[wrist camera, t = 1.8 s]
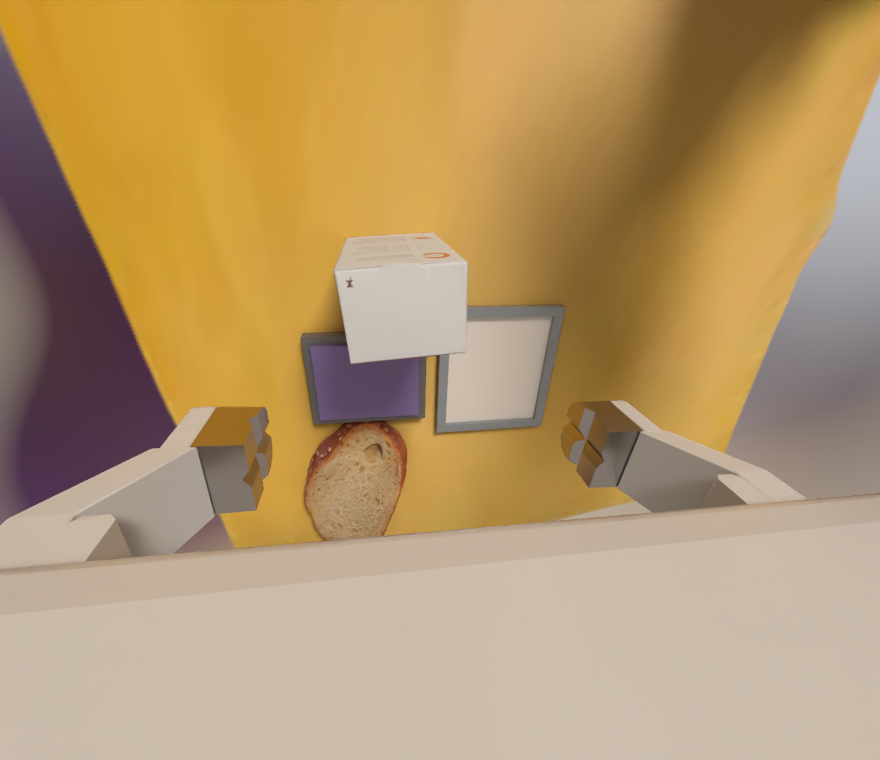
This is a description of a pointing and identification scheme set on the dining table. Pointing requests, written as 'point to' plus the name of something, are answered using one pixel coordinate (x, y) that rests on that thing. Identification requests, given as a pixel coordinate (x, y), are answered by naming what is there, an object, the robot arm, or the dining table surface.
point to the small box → (402, 297)
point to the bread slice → (356, 480)
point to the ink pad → (360, 383)
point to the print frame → (499, 369)
